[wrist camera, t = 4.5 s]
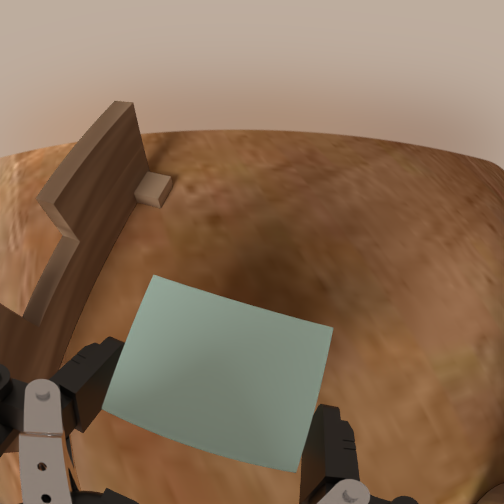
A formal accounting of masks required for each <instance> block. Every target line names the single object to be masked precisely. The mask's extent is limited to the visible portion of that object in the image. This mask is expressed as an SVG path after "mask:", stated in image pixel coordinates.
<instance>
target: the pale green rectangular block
mask: <svg viewBox="0 0 504 504" xmlns="http://www.w3.org/2000/svg"><path fill="white" fill-rule="evenodd" d="M332 332H333V328H332V327H328V326H325V325H321V324H317V323H313V322H309V321H306V320H302V319H298V318H294V317H291V316H287V315H284V314H280V313H276V312H273V311H269V310H266V309H262V308H259V307H255V306H252V305H248V304H245V303H242V302H238V301H235V300H232V299H228V298H225V297H222V296H218V295H215V294H212V293H209V292H206V291H202V290H199V289H196V288H193V287H190V286H187V285H183V284H180V283H177V282H174V281H171V280H168V279H165V278H162V277H159V276H156V275H153V277H152V279H151V282H150V284H149V286H148V289H147V291H146V293H145V296H144V298H143V300H142V303H141V305H140V307H139V310H138V312H137V315H136V317H135V319H134V322H133V324H132V327H131V329H130V332H129V334H128V337H127V340H126V342H125V345H124V347H123V350H122V352H121V355H120V358H119V360H118V363H117V366H116V369H115V371H114V374H113V377H112V380H111V382H110V385H109V388H108V391H107V394H106V397H105V400H104V403H103V406H102V409H103V410H105V411H107V412H109V413H111V414H113V415H115V416H117V417H119V418H121V419H123V420H126V421H128V422H130V423H132V424H134V425H137V426H139V427H141V428H144V429H146V430H149V431H151V432H153V433H156V434H158V435H161V436H164V437H166V438H169V439H171V440H174V441H177V442H180V443H182V444H185V445H188V446H191V447H194V448H197V449H200V450H203V451H207V452H210V453H213V454H216V455H220V456H223V457H227V458H231V459H234V460H238V461H242V462H246V463H250V464H254V465H259V466H263V467H268V468H273V469H278V470H283V471H288V472H294V473H296V471H297V468H298V465H299V462H300V458H301V455H302V452H303V449H304V445H305V442H306V438H307V435H308V432H309V428H310V424H311V421H312V417H313V413H314V410H315V406H316V402H317V398H318V394H319V390H320V386H321V382H322V378H323V374H324V369H325V365H326V360H327V356H328V351H329V347H330V342H331V337H332Z"/></svg>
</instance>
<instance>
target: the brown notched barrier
mask: <svg viewBox="0 0 504 504" xmlns="http://www.w3.org/2000/svg"><path fill="white" fill-rule="evenodd" d="M172 187H173V184H172V179H171V176H166V175H162V174H157V173H153V172H150V170H149V166H148V162H147V158H146V155H145V151H144V147H143V143H142V139H141V134H140V131H139V127H138V122H137V118H136V113H135V109H134V104H133V103H132V102H121V101H114V102H113V103H112V105H111V106H110V107H109V108H108V109H107V110H106V111H105V112H104V113H103V114H102V115H101V116H100V117H99V118H98V119H97V121H96V122H95V123H94V124H93V125H92V126H91V127H90V128H89V130H88V131H87V132H86V133H85V134H84V135H83V136H82V138H81V139H80V140H79V141H78V142H77V144H76V145H75V146H74V147H73V148H72V150H71V151H70V152H69V153H68V155H67V156H66V157H65V159H64V160H63V161H62V162H61V164H60V165H59V166H58V168H57V169H56V170H55V172H54V173H53V174H52V176H51V177H50V178H49V180H48V181H47V183H46V184H45V185H44V187H43V188H42V190H41V191H40V193H39V194H38V196H37V197H36V200H37V201H38V203H39V204H40V205H41V207H42V208H43V210H44V211H45V212H46V214H47V215H48V217H49V218H50V219H51V221H52V222H53V223H54V225H55V226H56V227H57V229H58V230H59V231H60V232H61V234H62V235H63V236H62V238H61V239H60V241H59V243H58V245H57V247H56V248H55V250H54V252H53V254H52V256H51V258H50V260H49V261H48V263H47V265H46V267H45V269H44V271H43V273H42V275H41V277H40V279H39V281H38V283H37V285H36V288H35V290H34V292H33V294H32V296H31V298H30V301H29V303H28V305H27V307H26V310H25V312H24V314H23V317H21V316H20V315H18V314H16V313H15V312H13V311H12V310H10V309H8V308H7V307H5V306H4V305H2V304H1V303H0V364H2V365H4V366H6V367H7V368H8V370H9V372H10V375H11V378H14V379H16V380H19V381H22V382H25V383H30V382H32V381H34V380H37V379H46V380H49V379H50V378H51V377H52V376H53V375H54V374H55V373H57V372H58V370H59V367H60V364H61V361H62V359H63V356H64V353H65V351H66V348H67V346H68V343H69V340H70V338H71V335H72V333H73V331H74V328H75V326H76V323H77V321H78V319H79V316H80V314H81V312H82V309H83V307H84V305H85V303H86V300H87V298H88V296H89V294H90V292H91V289H92V287H93V285H94V283H95V281H96V279H97V277H98V275H99V273H100V271H101V269H102V267H103V265H104V263H105V261H106V259H107V257H108V255H109V253H110V251H111V249H112V247H113V245H114V243H115V241H116V239H117V237H118V236H119V234H120V232H121V230H122V228H123V226H124V225H125V223H126V221H127V219H128V217H129V216H130V214H131V212H132V210H133V209H134V207H135V205H136V204H137V202H138V203H142V204H146V205H150V206H153V207H157V208H161V207H162V205H163V203H164V201H165V200H166V198H167V196H168V194H169V192H170V191H171V189H172ZM20 433H21V432H20ZM20 433H19V434H20ZM22 433H23V432H22ZM19 434H18V436H17V437H16V438H15V439H14V441H13V442H12V443H11V444H10V446H9V447H8V448H7V449H6V451H5V452H4V453H10V452H19Z"/></svg>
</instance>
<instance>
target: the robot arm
mask: <svg viewBox="0 0 504 504" xmlns="http://www.w3.org/2000/svg"><path fill="white" fill-rule="evenodd" d="M124 345H125V343H124V342H122V341H120V340H117V339H115V338H113V337H107V338H106V339H105V340H104V341H103V342H102V343H101V344H100V345H99V344H97V343H93V344H90V345H88V346H85V347H84V348H83V349H82V350H80V351H79V352H78V353H77V355H75V356H74V357H73V358H72V359H71V360H69V361H68V362H67V363H66V364H65V365H64V366H63V367H62V368H61V369H60V370H59V371H58V372H57V373H55V374H54V375H53V376H52V377H51V378H50V379H49V380H46V379H37V380H34V381H32V382H30V383H25V382H22V381H19V380H16V379H14V378H11V375H10V372H9V370H8V368H7V367H6V366H4V365H2V364H0V457H1V456H2V455H3V453H4V452H5V451H6V449H7V448H8V447H9V446H10V444H11V443H12V442H13V441H14V439H15V438H16V437H17V436H18V434H19V433H20V432H21V433H20V434H19V463H20V479H21V490H22V499H23V503H20V504H139V503H137V502H136V501H134V500H132V499H129V498H127V497H125V496H123V495H121V494H118V493H116V492H114V491H112V490H110V489H108V488H106V490H105V491H104V493H99V492H93V491H81V488H80V484H79V480H78V477H77V473H76V468H75V462H74V456H73V450H72V443H71V436H70V433H71V432H72V431H73V430H74V428H75V429H77V430H78V431H80V432H82V433H84V431H85V430H86V429H87V427H88V426H89V425H90V424H91V422H92V421H93V420H94V418H95V417H96V416H97V414H98V413H99V412H100V411H101V409H102V406H103V403H104V400H105V397H106V394H107V391H108V388H109V385H110V382H111V380H112V377H113V374H114V371H115V369H116V366H117V363H118V360H119V358H120V355H121V352H122V350H123V347H124ZM22 432H23V433H22ZM354 442H355V439H354V432H353V429H352V428H351V426H350V425H349V423H348V421H343V420H341V418H340V410H339V408H338V407H334V406H329V405H324V404H320V405H319V406H318V408H317V410H316V411H315V413H314V415H313V417H312V421H311V424H310V428H309V432H308V435H307V438H306V442H305V445H304V449H303V452H302V464H301V484H300V500H299V504H418V502H417V501H416V500H414V499H413V498H411V497H408V496H400V497H397V498H395V499H394V500H393V501H387V500H384V499H380V498H377V497H374V496H372V495H370V493H369V490H368V489H367V487H366V486H365V485H364V484H363V483H361V482H360V479H359V470H358V462H357V454H356V451H355V450H356V446H355V443H354ZM477 504H504V483H502V484H500V485H498V486H496V487H494V488H493V489H491V490H490V491H489V492H487V493H486V494H485V495H484V496H483V497H482V498H481V499H480V500H479V501H478V503H477Z"/></svg>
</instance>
